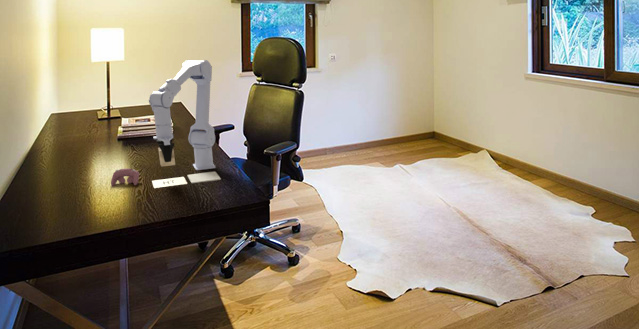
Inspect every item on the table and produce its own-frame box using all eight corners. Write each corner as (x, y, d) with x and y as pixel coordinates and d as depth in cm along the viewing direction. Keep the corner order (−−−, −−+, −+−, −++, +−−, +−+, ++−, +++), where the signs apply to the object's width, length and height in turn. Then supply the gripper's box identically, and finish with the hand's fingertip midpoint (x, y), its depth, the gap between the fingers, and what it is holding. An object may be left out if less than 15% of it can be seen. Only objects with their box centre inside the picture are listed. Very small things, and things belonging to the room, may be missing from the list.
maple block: (160, 163, 190) (158, 147, 188) (173, 161, 192) (172, 146, 190) (161, 166, 186) (159, 150, 184) (175, 164, 187) (173, 149, 186)
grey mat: (187, 176, 198) (187, 174, 198) (215, 172, 202) (215, 171, 202) (191, 183, 188) (191, 182, 188) (220, 180, 192) (220, 178, 192)
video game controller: (140, 186, 192) (140, 168, 193) (136, 185, 187) (136, 166, 189) (114, 187, 191) (114, 169, 193) (109, 186, 187) (110, 167, 188)
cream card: (151, 181, 193) (151, 180, 193) (183, 177, 197) (183, 176, 197) (154, 188, 184) (154, 187, 184) (187, 184, 188) (187, 183, 188)
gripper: (150, 122, 190) (154, 156, 193) (153, 128, 177) (157, 165, 180) (169, 120, 192) (173, 154, 196) (174, 126, 179) (178, 163, 183)
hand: (167, 160), depth 188 cm, fingers closed on maple block, 5 cm apart
